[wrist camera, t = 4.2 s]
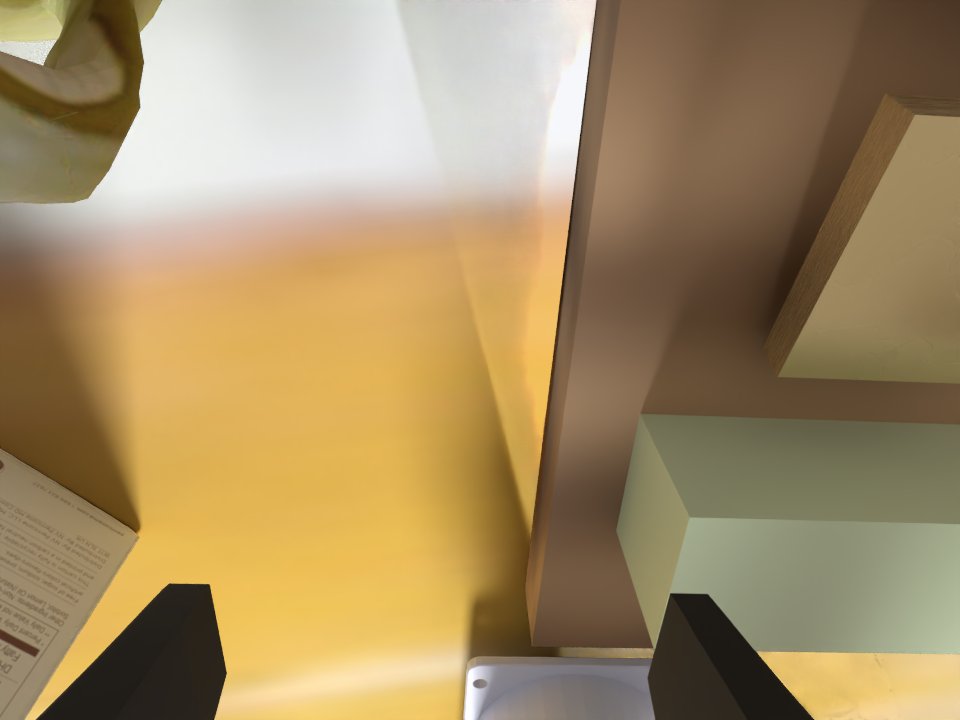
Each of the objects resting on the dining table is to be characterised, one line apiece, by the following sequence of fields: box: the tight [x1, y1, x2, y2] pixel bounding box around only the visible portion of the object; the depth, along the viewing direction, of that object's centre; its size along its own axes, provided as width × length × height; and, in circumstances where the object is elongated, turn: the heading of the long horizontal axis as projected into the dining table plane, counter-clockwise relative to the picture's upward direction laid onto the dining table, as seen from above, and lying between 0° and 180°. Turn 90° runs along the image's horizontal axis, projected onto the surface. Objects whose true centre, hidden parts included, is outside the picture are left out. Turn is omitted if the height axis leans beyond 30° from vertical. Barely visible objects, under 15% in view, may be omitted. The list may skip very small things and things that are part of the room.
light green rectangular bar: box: [616, 414, 960, 654], centre depth 16 cm, size 4×12×4 cm, turn 87°
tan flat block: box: [762, 93, 960, 384], centre depth 13 cm, size 6×5×1 cm
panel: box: [525, 0, 960, 648], centre depth 16 cm, size 24×14×4 cm, turn 177°
